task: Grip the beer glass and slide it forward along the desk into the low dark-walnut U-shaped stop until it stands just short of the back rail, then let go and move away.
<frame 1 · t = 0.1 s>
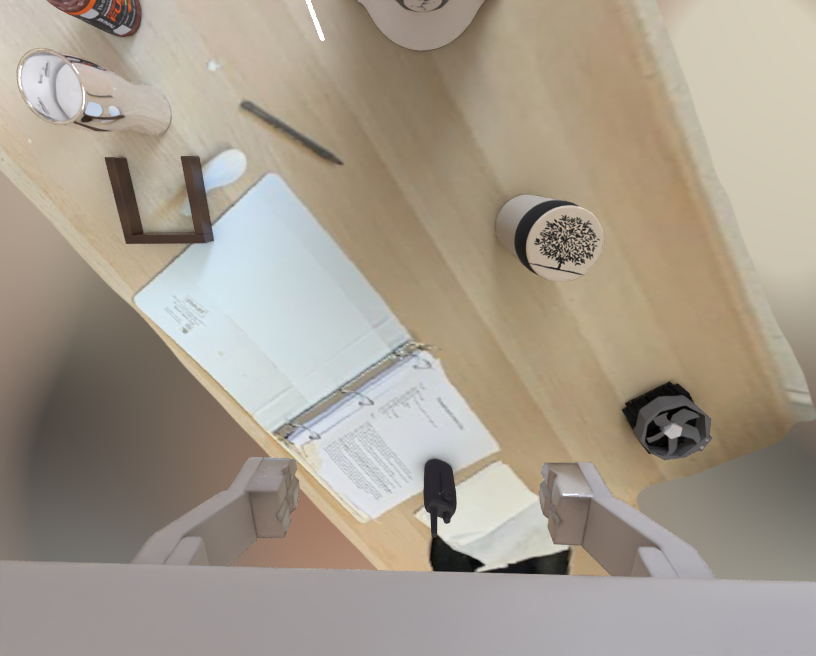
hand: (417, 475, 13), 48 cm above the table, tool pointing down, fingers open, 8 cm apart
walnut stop: (166, 196, 57), on the table
two-way radio: (440, 464, 72), on the table
supplement bottle: (120, 9, 50), on the table
travel mug: (523, 224, 57), on the table
cpu cooler: (656, 412, 67), on the table
beer glass: (149, 110, 54), on the table
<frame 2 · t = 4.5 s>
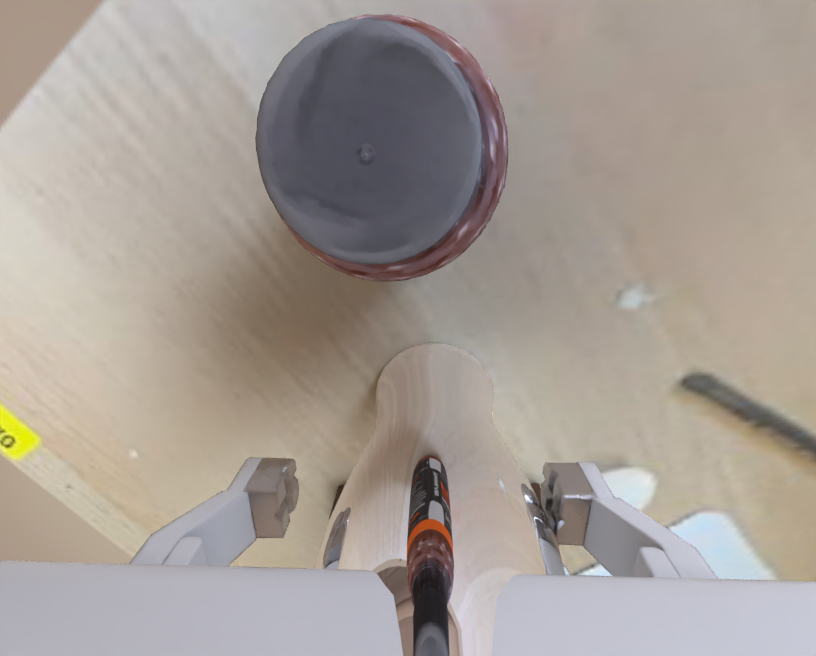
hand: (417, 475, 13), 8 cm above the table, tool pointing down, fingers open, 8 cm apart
supplement bottle: (403, 171, 18), on the table
beer glass: (434, 393, 22), on the table, touching gripper
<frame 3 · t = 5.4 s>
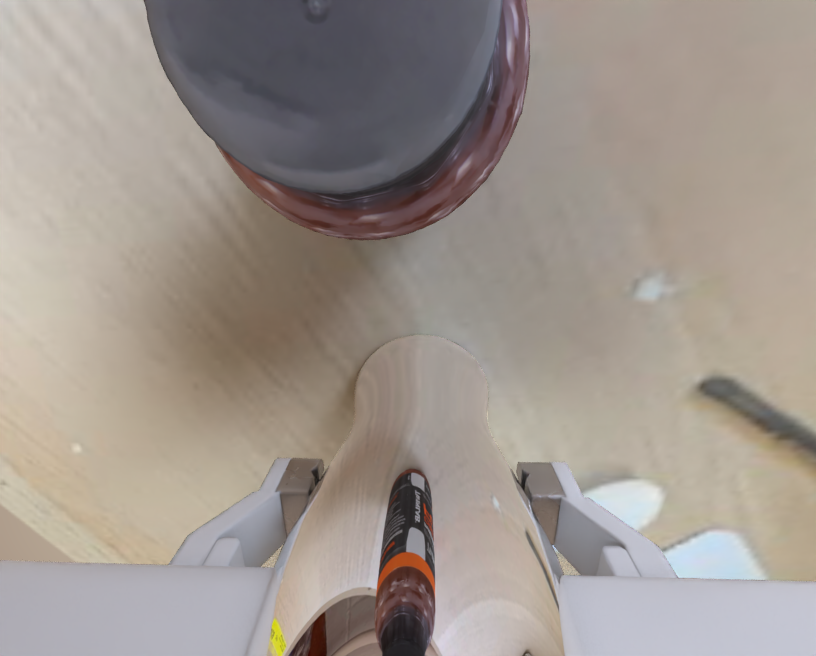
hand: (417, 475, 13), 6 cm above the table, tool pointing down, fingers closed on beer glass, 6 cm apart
supplement bottle: (393, 128, 15), on the table
beer glass: (421, 392, 19), on the table, touching gripper
when the fingers open (6 cm above the table, at t = 10.3 s): beer glass stays where it is, on the table.
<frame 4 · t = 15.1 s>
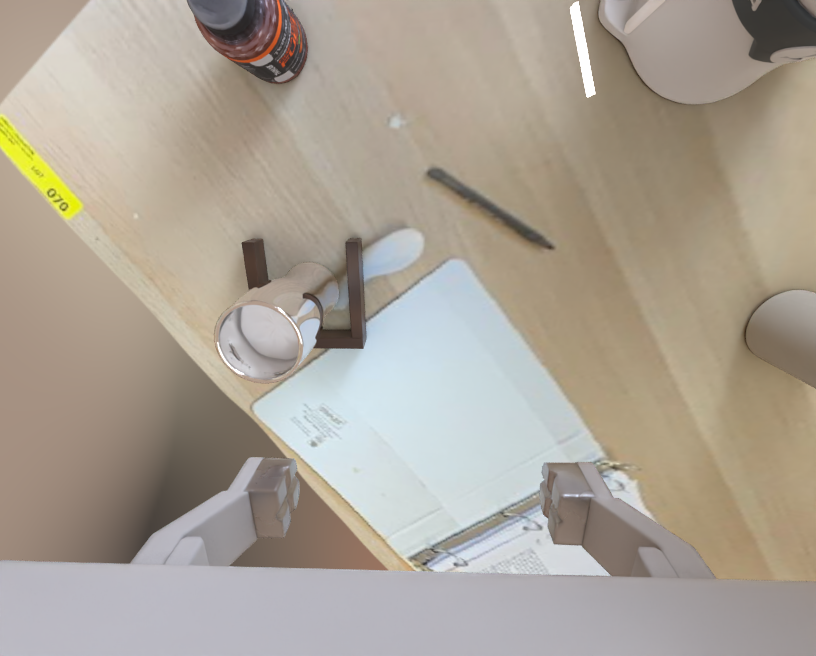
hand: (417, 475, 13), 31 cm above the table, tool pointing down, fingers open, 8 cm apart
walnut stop: (310, 285, 44), on the table
supplement bottle: (277, 47, 36), on the table
travel mug: (782, 324, 43), on the table
beer glass: (312, 289, 44), on the table
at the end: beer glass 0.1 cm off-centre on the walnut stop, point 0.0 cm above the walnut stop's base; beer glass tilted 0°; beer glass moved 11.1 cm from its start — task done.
